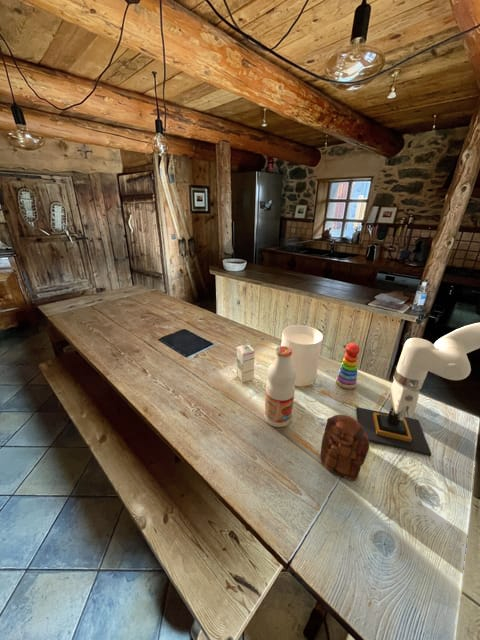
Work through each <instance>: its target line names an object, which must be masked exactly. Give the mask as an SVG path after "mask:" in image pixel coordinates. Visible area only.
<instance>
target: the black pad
mask: <svg viewBox="0 0 480 640" xmlns="http://www.w3.org/2000/svg"><path fill="white" fill-rule="evenodd" d="M387 417H388V416H386V415H382V414H380V415H379V418H378V422H379V427H380V430H382V431H387V432H391V433H396V434H400V435H405V434H406V429H405V426H404V422H403V421H402V420H400V422H399V425H394V424H390V423H388V421H387Z"/></svg>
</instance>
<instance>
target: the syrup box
mask: <svg viewBox="0 0 480 640" xmlns="http://www.w3.org/2000/svg"><path fill="white" fill-rule="evenodd" d="M255 351H256V350H255V348H253V347H252V346H251V344H249V343H247V344H241V345H240V346H236V376H237V377H238V379H239V380H240V381H241V383H246V382H249V381H252V380H254V379H255V358H256V357H255V356H256V355H255V353H256V352H255Z"/></svg>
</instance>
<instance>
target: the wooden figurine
mask: <svg viewBox="0 0 480 640" xmlns="http://www.w3.org/2000/svg"><path fill="white" fill-rule="evenodd" d="M369 450H370V442H369V439H368V437H367V435H366V433H365V432H364V429H363V428H362V426H361V425H360V423H359V422H358V419H356V418H354V417H352V416H350V415H348V414H334V415H332V417H328V418H327V419H326V424H325V426H324V433H323V436H322V440H321V446H320V455H319V456H320V461H321V464H322V466H323V467H324V469H326V470H327V472H329V473H334V474H335V475H337V476H338V477H340V478H343V479H344V478H346V479H348V480H350V481H351V482H355V481H356V480H357V478H358V476H359V474H360V472H361V468H362V466H363V465H364V464H365V462H366V458H367V455H368V453H369Z"/></svg>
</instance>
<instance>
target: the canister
mask: <svg viewBox="0 0 480 640" xmlns="http://www.w3.org/2000/svg"><path fill="white" fill-rule="evenodd" d="M323 338H324V335H323V333H322V332H321V331H320V330H319V329H316V328H315V327H312V326H309V325H304V324H294V325H289V326H286V327H285V328H284V329H283V330H282V333H281V344H280V346H287V347H289V348H291V350H292V355H291V357H290V360H291V363H292V365H293V367H294V368H295V370H296V379H295V381H294V385H295V387H307V386H311V385H312V384H314V382H316V379H317V374H318V368H319V362H320V357H321V350H322V345H323Z"/></svg>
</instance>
